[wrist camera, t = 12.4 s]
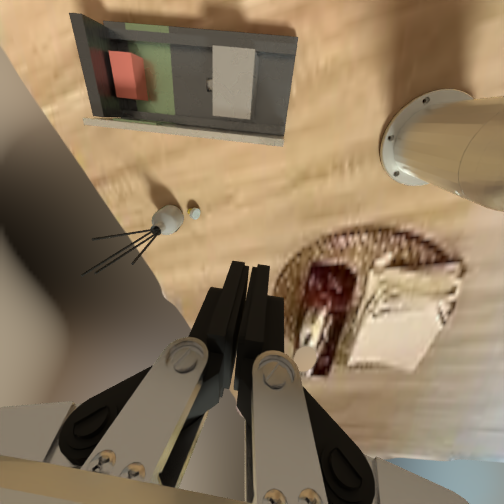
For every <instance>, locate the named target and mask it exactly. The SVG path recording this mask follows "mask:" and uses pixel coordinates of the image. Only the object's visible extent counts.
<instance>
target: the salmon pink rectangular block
mask: <svg viewBox="0 0 504 504" xmlns="http://www.w3.org/2000/svg"><path fill="white" fill-rule="evenodd" d="M109 56H110V62H111V67H112V73H113V78H114V84H115V89H116V95H117V97H119V98H126V99H135V100H144V101H148V94H147V86H146V78H145V70H144V62H143V58H142V57H139V56H137V55H135V54H133V53H129V52H118V51H109Z"/></svg>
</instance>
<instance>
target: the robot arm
mask: <svg viewBox="0 0 504 504" xmlns="http://www.w3.org/2000/svg"><path fill="white" fill-rule="evenodd" d="M423 99H424V103H422V101H423ZM388 136H390V138H389V139H388ZM380 158H381V164H382V166H383V168H384V170H385V172H386V173H387V174H388V176H390V177H391V178H392V179H393V180H395V181H397V182H399V183H401V184H404V185H410V186H420V185H426V184H432V185H434V186H437V187H439V188H441V189H444V190H446V191H448V192H451V193H453V194H455V195H458V196H460V197H462V198H465V199H467V200H469V201H472V202H474V203H476V204H479V205H481V206H484V207H486V208H490V209H493V210H496V211H502V212H504V96H499V97H490V98H481V99H473V98H472V97H471V96H470V95H469V94H467V93H465V92H463V91H461V90H456V89H441V90H435V91H432V92H429V93H425V94H423V95H421V96H419V97H417V98H415V99H414V100H412V101H411V102H409V103H408V104H407V105H405V106H404V107H403V108H402V109H401V110H400V111H399V112H398V113H397V114H396V116H395V117H394V118H393V119H392V121H391V122H390V124H389V125H388V127H387V129H386V131H385V133H384V136H383V138H382V142H381V147H380ZM394 172H396V173H395V174H394ZM269 270H270V266H267V265H260V264H258V266H257V267H253V268H252V272H251V277H250V282H249V287H248V292H247V282H248V272H249V266H245V262H238V261H232V264H231V266H230V269H229V272H228V275H227V278H226V280H225V283H224V286H223V289H221V288H214V287H211V288H210V289H209V291H208V293H207V295H206V298H205V300H204V302H203V305H202V307H201V309H200V312H199V314H198V316H197V318H196V321H195V323H194V325H193V328H192V330H191V332H190V335H189V337H183V338H180V339H177V340H175V341H173V342H172V343H170V344H169V345H168V346H167V347H166V348H165V349H164V351H163V352H162V353H161V355H160V356H159V358H158V359H157V361H156V362H155V363H154V365H153V366H151V367H149V368H147V369H145V370H143V371H141V372H139V373H137V374H136V375H134V376H132V377H130V378H128V379H126V380H124V381H122V382H120V383H119V384H117V385H115V386H113V387H111V388H109V389H107V390H105V391H103V392H101V393H100V394H98V395H96V396H94V397H92V398H90V399H89V400H87V401H85V402H84V403H82V404H75V403H74V402H73V401H71V402H58V403H46V404H35V405H22V406H9V407H1V408H0V504H469V503H468V502H467V501H466V500H465V499H464V498H462V497H461V496H459V495H458V494H456V493H455V492H453V491H451V490H449V489H446V488H444V487H442V486H440V485H438V484H435V483H433V482H431V481H429V480H427V479H425V478H422V477H420V476H418V475H416V474H414V473H411V472H409V471H407V470H405V469H403V468H400V467H398V466H396V465H394V464H392V463H389V462H387V461H385V460H383V459H381V458H379V457H375V458H374V459H373V458H371V457H369V456H367V455H364V454H363V453H362V451H361V450H360V449H359V447H358V446H357V445H356V444H355V443H354V442H353V441H352V440H351V439H350V438H349V436H348V435H347V434H346V433H345V432H344V431H343V430H342V429H341V428H340V427H339V426H338V424H337V423H336V422H335V421H334V420H333V419H332V418H331V417H330V416H329V415H328V413H327V412H326V411H325V410H324V409H323V408H322V407H321V406H320V405H319V404H318V402H317V401H316V400H315V399H314V398H313V397H312V396H311V395H310V394H309V393H308V392H307V390H306V389H305V388H304V387H303V386H302V382H301V377H300V372H299V370H298V367H297V365H296V363H295V362H294V361H293V359H292V358H290V357H289V356H288V355H287V354H285V353H284V298H282V297H275V296H269V295H267V293H268V282H269ZM246 292H247V297H246ZM236 353H237V357H236ZM235 358H236V368H235V380H234V390H237V391H238V398H237V407H238V409H239V410H240V412H241V413H242V415H243V417H244V418H245V502H243V501H238V500H233V499H228V498H223V497H217V496H213V495H208V494H202V493H198V492H193V491H188V490H183V489H179V486H180V483H181V481H182V478H183V476H184V473H185V471H186V468H187V466H188V463H189V461H190V458H191V455H192V453H193V450H194V448H195V445H196V443H197V440H198V438H199V435H200V433H201V430H202V428H203V425H204V423H205V420H206V418H207V415H208V411H209V409H211V408H212V407H213V406H215V405H216V404H217V403H219V398H220V397H222V396H223V391H224V388H226V389H229V388H230V383H231V378H232V373H233V368H234V363H235Z"/></svg>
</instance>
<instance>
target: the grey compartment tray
mask: <svg viewBox="0 0 504 504" xmlns="http://www.w3.org/2000/svg"><path fill="white" fill-rule="evenodd" d="M69 15H70V19H71V23H72V28H73V32H74V36H75V40H76V45H77V49H78V53H79V57H80V62H81V66H82V70H83V74H84V79H85V83H86V87H87V91H88V96H89V100H90V104H91V109H92V113H93V116H98V117H121V118H83V122H84V125H92V126H101V127H110V128H119V129H128V130H137V131H146V132H155V133H164V134H173V135H182V136H191V137H200V138H209V139H218V140H227V141H236V142H245V143H254V144H263V145H272V146H281V147H283V144H284V132H285V124H286V117H287V110H288V103H289V96H290V90H291V83H292V76H293V69H294V62H295V56H296V49H297V41H298V37H290V36H279V35H267V34H255V33H243V32H231V31H219V30H207V29H195V28H183V27H171V26H159V25H147V24H135V23H124V22H112V21H103V22H104V25H102V24H100V23H98V22H96V21H94V20H92V19H90V18H89V17H87V16H85V15H83V14H77V13H69ZM213 45H214V46H226V47H237V48H249V49H255V50H256V53H257V55H258V58H259V66H258V79H257V91H256V103H255V115H254V120H250V119H240V118H231V117H221V116H213V93H212V92H207V89H206V79H207V77H208V78H213ZM109 51H118V52H129V53H133V54H135V55H137V56H139V57H142V58H143V62H144V70H145V78H146V86H147V94H148V101H144V100H135V99H126V98H119V97H117V95H116V89H115V84H114V78H113V73H112V67H111V62H110V56H109Z"/></svg>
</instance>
